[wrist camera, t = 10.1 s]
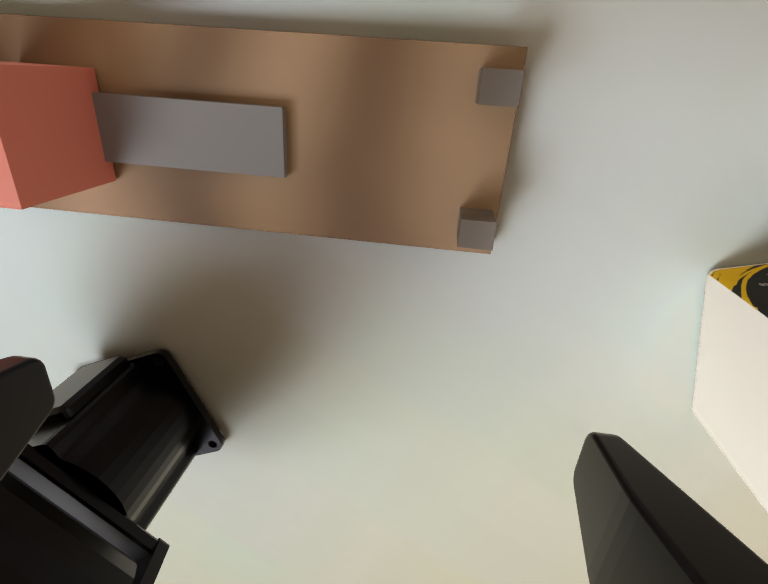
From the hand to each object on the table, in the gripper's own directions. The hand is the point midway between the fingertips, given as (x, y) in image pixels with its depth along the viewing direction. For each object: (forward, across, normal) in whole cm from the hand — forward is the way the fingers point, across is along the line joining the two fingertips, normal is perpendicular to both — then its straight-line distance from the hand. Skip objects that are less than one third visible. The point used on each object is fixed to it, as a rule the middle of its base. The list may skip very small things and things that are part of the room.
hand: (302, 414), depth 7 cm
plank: (+12, +7, -3) cm, 14 cm away
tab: (+11, +9, -3) cm, 14 cm away
